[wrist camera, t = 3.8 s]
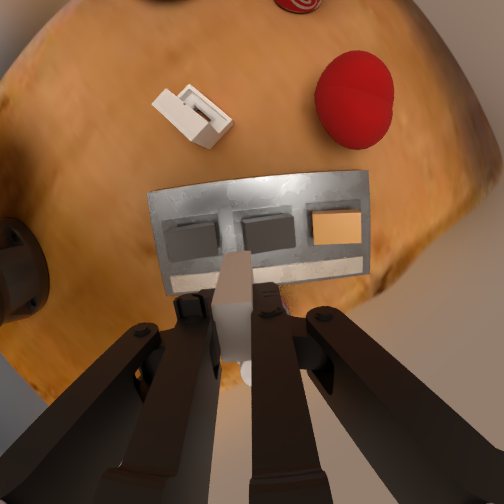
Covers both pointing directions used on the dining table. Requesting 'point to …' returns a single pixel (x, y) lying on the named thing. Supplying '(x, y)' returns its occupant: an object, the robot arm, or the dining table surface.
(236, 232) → the breaker strip
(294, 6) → the beverage can
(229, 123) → the white angled block
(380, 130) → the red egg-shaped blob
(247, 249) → the dark grey block
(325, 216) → the orange rectangular block
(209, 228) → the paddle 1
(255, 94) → the dining table surface
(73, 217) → the dining table surface
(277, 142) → the dining table surface
